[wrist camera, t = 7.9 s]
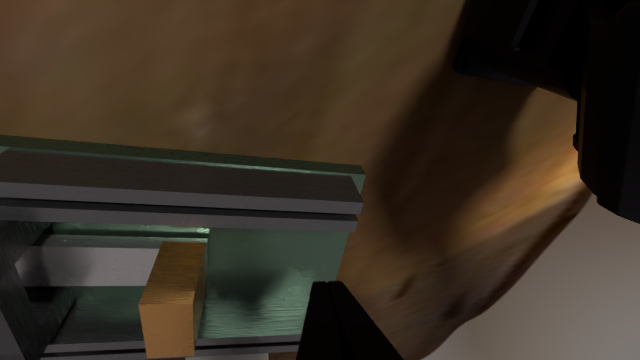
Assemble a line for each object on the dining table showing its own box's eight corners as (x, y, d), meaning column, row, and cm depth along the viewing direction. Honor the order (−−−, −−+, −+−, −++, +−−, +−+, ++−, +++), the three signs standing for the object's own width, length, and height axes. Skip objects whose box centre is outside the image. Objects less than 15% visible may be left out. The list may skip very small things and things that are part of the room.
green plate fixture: (361, 165, 21) (393, 225, 16) (322, 304, 28) (337, 377, 23) (-48, 130, 16) (-195, 201, 11) (28, 310, 23) (-39, 405, 18)
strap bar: (207, 231, 20) (192, 303, 16) (207, 279, 22) (194, 355, 18) (-70, 222, 17) (-191, 310, 12) (-38, 280, 19) (-132, 373, 14)
